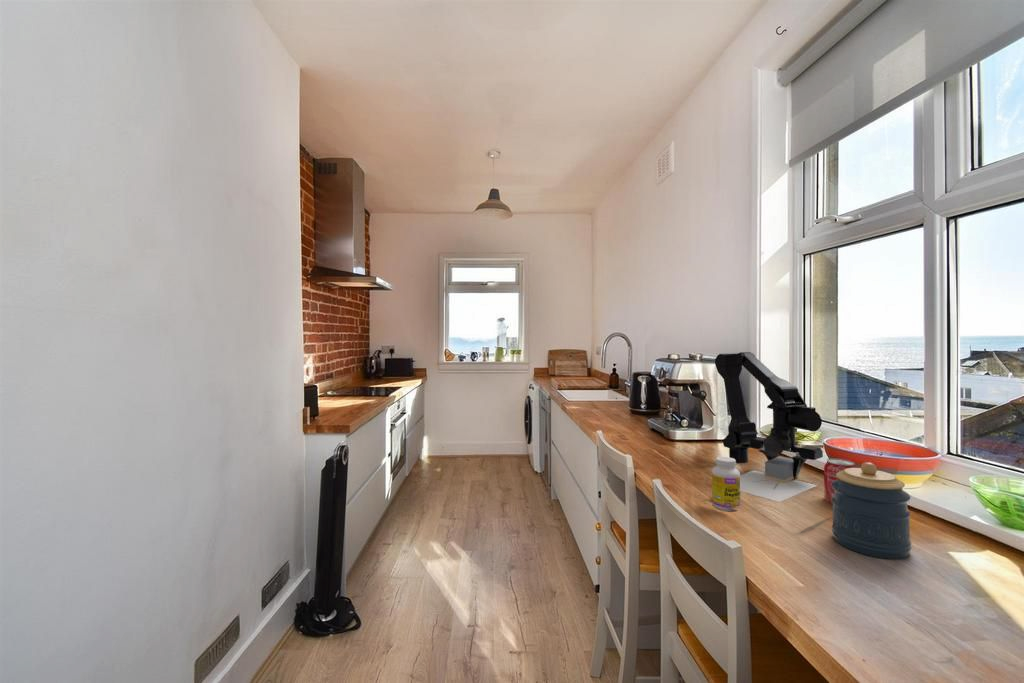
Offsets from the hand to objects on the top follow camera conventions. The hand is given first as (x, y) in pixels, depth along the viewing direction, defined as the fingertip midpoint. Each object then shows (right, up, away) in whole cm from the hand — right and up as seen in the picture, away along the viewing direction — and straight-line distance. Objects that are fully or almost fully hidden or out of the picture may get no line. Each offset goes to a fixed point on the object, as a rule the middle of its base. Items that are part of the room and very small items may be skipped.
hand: (784, 475), depth 133 cm
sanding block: (-1, 0, -1) cm, 2 cm away
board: (-10, -2, -6) cm, 12 cm away
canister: (-8, -2, -41) cm, 42 cm away
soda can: (+2, -2, -20) cm, 21 cm away
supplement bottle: (-28, -3, -19) cm, 34 cm away
